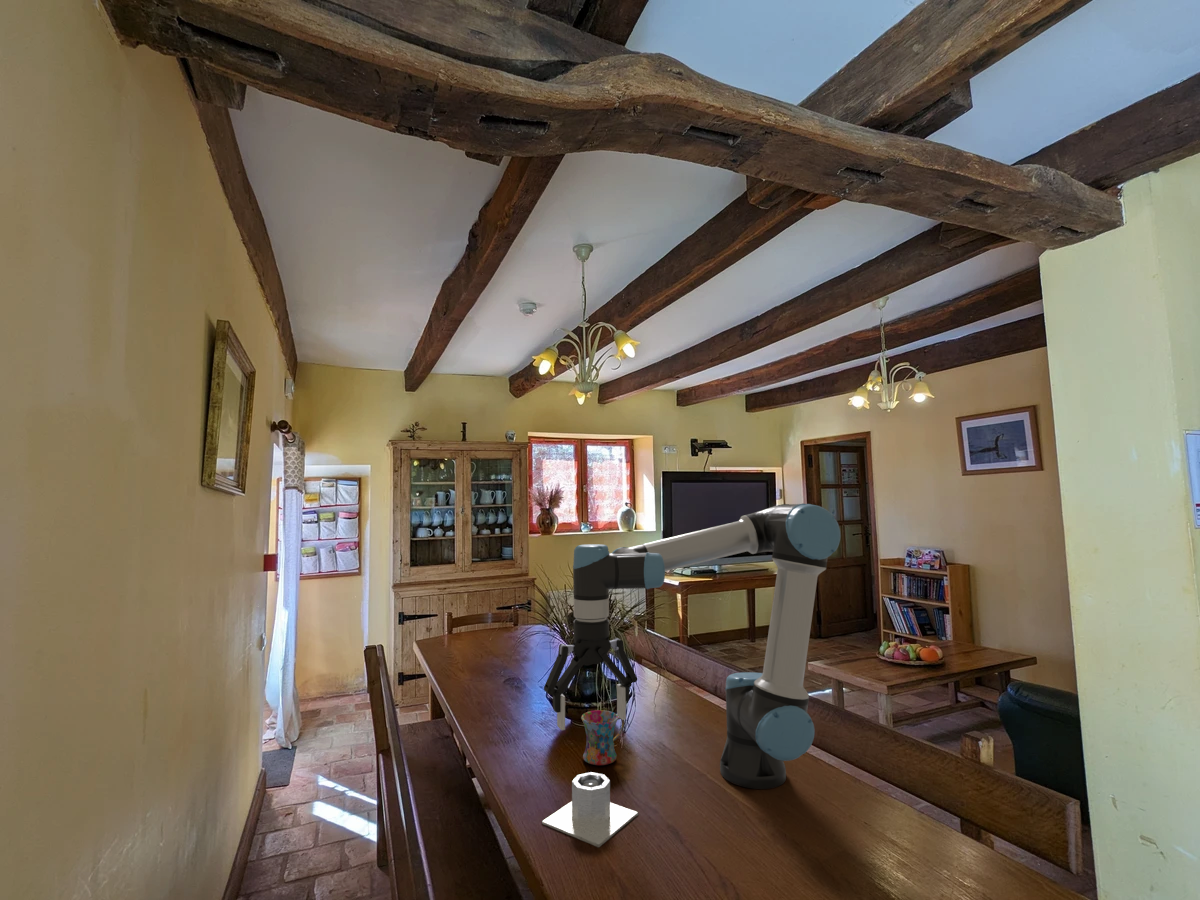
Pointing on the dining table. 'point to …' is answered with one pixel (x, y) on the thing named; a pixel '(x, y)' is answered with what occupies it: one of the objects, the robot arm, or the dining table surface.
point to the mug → (600, 736)
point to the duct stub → (590, 834)
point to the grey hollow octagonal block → (591, 800)
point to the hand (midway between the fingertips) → (591, 722)
